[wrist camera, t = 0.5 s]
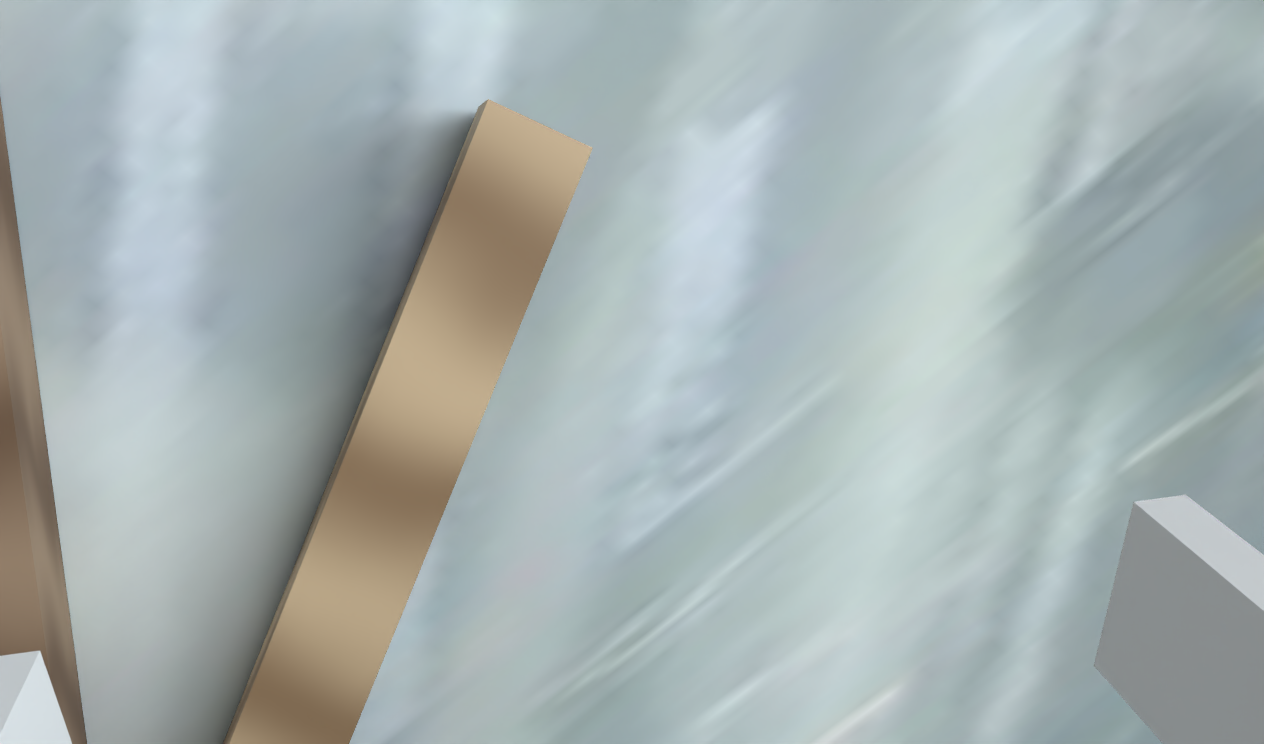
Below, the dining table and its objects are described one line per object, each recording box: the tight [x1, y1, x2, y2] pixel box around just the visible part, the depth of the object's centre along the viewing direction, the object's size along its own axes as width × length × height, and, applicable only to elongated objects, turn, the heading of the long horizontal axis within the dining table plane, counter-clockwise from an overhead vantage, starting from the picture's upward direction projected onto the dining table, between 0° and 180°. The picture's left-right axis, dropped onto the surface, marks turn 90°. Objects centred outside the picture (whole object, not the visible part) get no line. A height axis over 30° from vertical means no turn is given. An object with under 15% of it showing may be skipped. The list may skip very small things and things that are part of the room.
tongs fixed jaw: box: [0, 99, 87, 744], centre depth 26 cm, size 30×7×3 cm, turn 1°
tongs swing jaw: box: [223, 99, 592, 744], centre depth 28 cm, size 22×3×2 cm, turn 156°
